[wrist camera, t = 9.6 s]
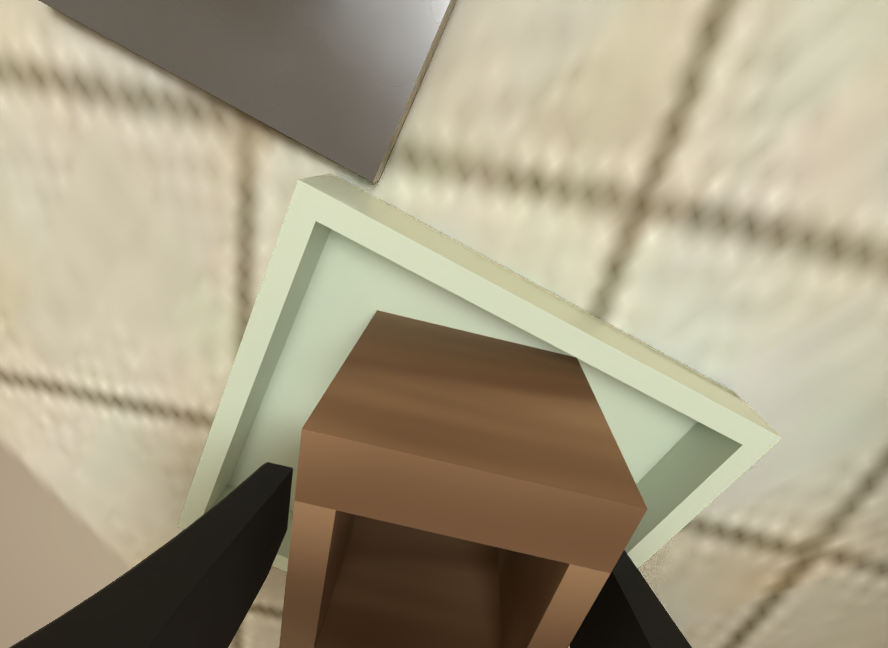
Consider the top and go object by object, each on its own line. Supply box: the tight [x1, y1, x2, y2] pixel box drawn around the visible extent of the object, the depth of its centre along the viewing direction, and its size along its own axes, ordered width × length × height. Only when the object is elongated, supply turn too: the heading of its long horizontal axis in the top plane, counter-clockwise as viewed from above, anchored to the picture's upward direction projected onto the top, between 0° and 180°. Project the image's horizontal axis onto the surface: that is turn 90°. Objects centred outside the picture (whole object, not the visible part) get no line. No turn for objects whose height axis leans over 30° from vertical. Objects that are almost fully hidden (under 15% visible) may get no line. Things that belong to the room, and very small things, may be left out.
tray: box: [177, 174, 782, 572], centre depth 12 cm, size 12×11×2 cm
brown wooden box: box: [279, 310, 647, 648], centre depth 10 cm, size 7×5×5 cm
